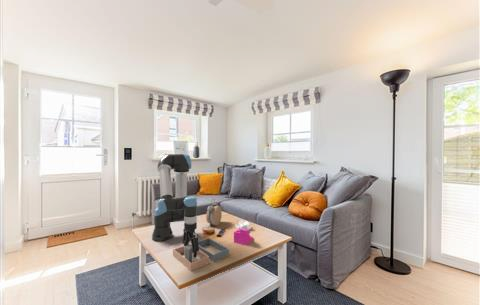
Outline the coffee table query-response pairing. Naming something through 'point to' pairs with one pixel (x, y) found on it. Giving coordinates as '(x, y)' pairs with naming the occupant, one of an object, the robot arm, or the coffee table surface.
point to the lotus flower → (243, 225)
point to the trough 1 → (189, 265)
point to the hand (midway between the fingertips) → (190, 258)
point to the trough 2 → (218, 246)
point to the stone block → (188, 252)
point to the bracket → (242, 236)
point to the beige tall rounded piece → (214, 214)
